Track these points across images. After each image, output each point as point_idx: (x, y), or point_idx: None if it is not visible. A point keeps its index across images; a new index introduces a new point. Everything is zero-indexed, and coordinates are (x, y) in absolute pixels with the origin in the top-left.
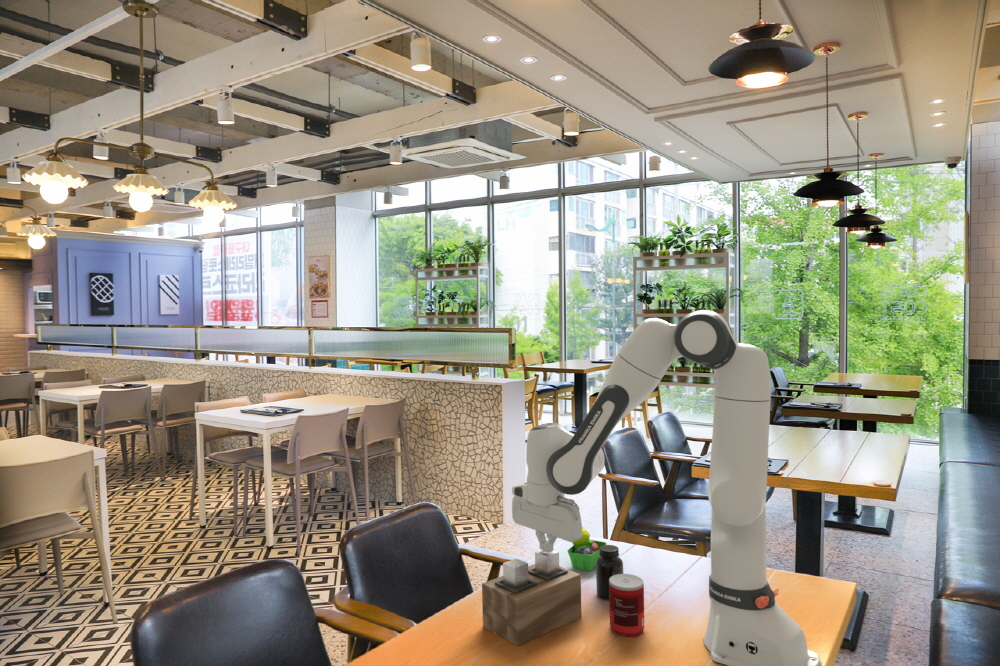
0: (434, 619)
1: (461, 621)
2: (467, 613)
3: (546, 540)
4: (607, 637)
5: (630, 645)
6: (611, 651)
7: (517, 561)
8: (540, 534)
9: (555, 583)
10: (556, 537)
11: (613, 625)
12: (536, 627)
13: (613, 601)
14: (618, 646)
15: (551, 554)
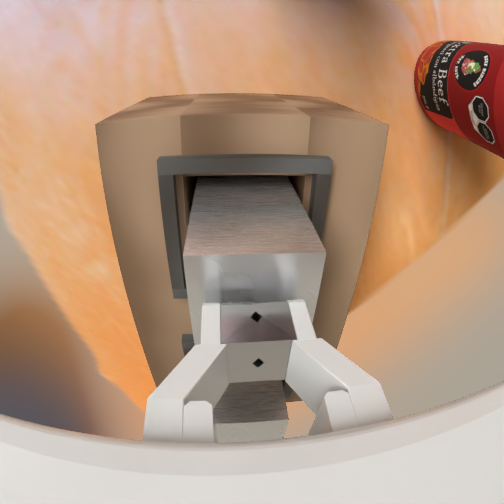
0: (93, 350)
1: (125, 328)
2: (96, 303)
3: (224, 348)
4: (433, 153)
5: (478, 152)
6: (458, 198)
7: (239, 430)
8: (217, 441)
9: (350, 278)
10: (376, 387)
11: (448, 130)
12: None
13: (494, 153)
14: (463, 172)
15: (312, 314)
